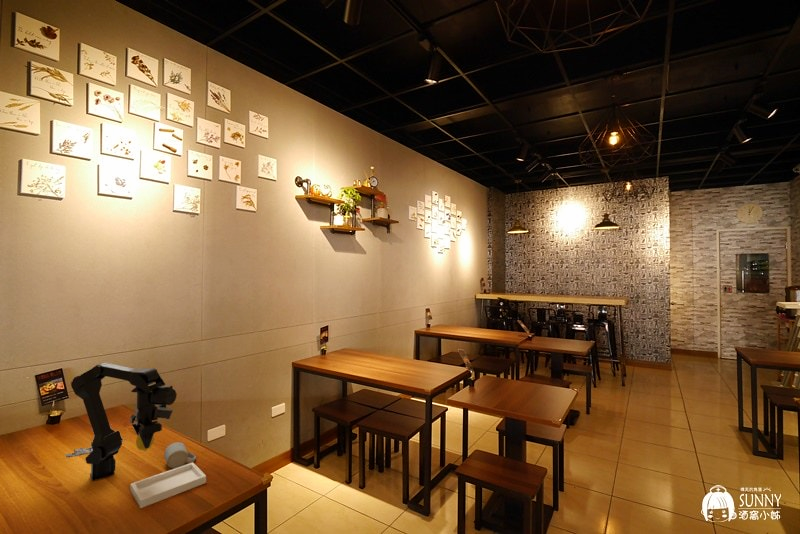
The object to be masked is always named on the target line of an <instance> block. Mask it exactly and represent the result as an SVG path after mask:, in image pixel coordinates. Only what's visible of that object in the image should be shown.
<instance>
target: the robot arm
mask: <svg viewBox="0 0 800 534" xmlns="http://www.w3.org/2000/svg"><path fill="white" fill-rule="evenodd" d="M106 377H108V378H112V379H113V378H114V379H118V380H122V381H127V382H129V384H130V385H131V386H134V388H133V389H132V390H131V393H136V406H135V408H134V410H135V411H136V412H135V413H132V415H130V417H129V422H130V423H131V425H132V426H133V428H134V430H135V431H134V433H135V434H136V435H137V436H138V435H140V438H141V440H142V442H143V444H144V447H145V448H148V449H150V448H149V446H150V443H151V440H152V437H153V434H155V433H158V432H161V431H162V430H163V425H162V424H161V423H160V421H158V419H166V420H170V419H171V416H172V413H173V409H172V408H170V407H168V406H171V405H173V404H174V403H175V401H176V399H177V396H178V395H177V392H176V390H175V389H174V387H173V385H166V383H165V381H164V380H163V378H162V377H161V375H160V374H159V372H158V370H157V368H153V367H152V368H150V367H147V368H146V367H145V368H133V367H127V366H123V365H118V364H113V363H111V362H104V363H103V362H102V363H98V364H96V365H95V366H93V367H92V368H91V369H90V368H89V370H87V371H86V372H83V373H81V374H80V375H76V376H75V377H73V378H72V381H71V382H70V385H71V388H72V391H73V393H74V395H75V396H77V397H79V398H80V399H82V401H83V404H84V408H85V410H86V415H87V417H88V420H89V423H90V426H91V428H92V429H93V432H94V439H93V442H92V450H93V451H92V452H91V453H88V454H87V456H86V457H85V459H84V460H85V463H86V464H89V465H90V467H91V468H90V473H89V476H90V479H91V481H92V482H94V481H98V480H102V479H104V478H107V477H110V476H113V475H115V471H116V459H115V457H114V456H116V455H117V454H118V453H119V450H120V449H121V448H122V446H123V441H121V440H123V439H122V438H121V435H120V432H119V430H118V431H116V432H115V431H114V430H112V429H111V427H110V425H111V424H110V422H109V418H108V415H107V412H106V410H105V409H106V408H105V406H104V403H103V400H102V398H101V395H100V392H101V389H102V386H103V384H102V380H103V379H105V378H106Z"/></svg>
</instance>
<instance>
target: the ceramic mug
mask: <svg viewBox="0 0 800 534" xmlns="http://www.w3.org/2000/svg"><path fill="white" fill-rule="evenodd" d="M163 456H164V460H165V462H166V465H167V467H169V468H171V469H175V468H178V467H181V466H184V465H186V463H192V462H193V463H194V462H195V460H196V459H197V456H196V455H195V454H194V453H192V452H188V451H187V447H186V445H185V444H184V443H183V442H180V441H179V442H178V441H176V442H173V443H171V444H169V445H168V446H167V447H166V449H165V451H164V454H163Z"/></svg>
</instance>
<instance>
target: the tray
mask: <svg viewBox="0 0 800 534" xmlns="http://www.w3.org/2000/svg"><path fill="white" fill-rule="evenodd" d="M206 483H207V475H206V474H205V472H203V471H202V470H201V469H200V468H199V467H198V466H197V465H196V464H195V463H194V462H188V463H187V464H184V465H183V466H181V467H178V468H175V469H173V468H171V469H169V470H167V471H164V472H161V473H158V474H155V475H151V476H148V477H147V478H143V479H139V480H137V481H135V482H131V483H130V493H131V495H132V496H133V498H134V500H135V502H136V503H137V505H138V508H139V509H142V508H146V507H147V506H151V505H152V504H155V503H157V502H160V501H162V500H163V501H164V500H165V499H169V498H171V497H173V496H175V495H178V494H182V493H183V492H186V491H189V490H191V489H194V488H196V487H199V486H201V485H203V484H206Z"/></svg>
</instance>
